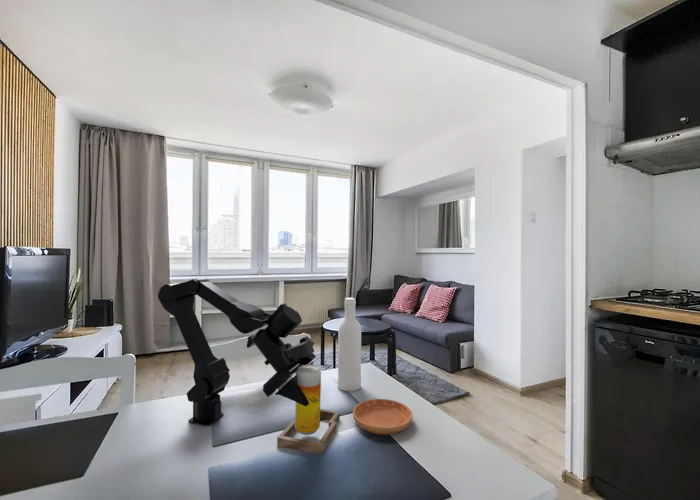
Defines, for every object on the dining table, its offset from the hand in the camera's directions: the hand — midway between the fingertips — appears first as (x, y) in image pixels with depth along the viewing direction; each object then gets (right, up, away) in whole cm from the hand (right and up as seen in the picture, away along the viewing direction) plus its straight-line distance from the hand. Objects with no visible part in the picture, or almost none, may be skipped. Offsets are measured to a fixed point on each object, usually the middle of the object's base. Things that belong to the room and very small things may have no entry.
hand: (313, 399), depth 80 cm
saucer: (+18, -10, +8) cm, 22 cm away
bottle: (+9, -10, +31) cm, 33 cm away
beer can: (-1, -8, 0) cm, 8 cm away
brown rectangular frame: (0, -10, +3) cm, 10 cm away
